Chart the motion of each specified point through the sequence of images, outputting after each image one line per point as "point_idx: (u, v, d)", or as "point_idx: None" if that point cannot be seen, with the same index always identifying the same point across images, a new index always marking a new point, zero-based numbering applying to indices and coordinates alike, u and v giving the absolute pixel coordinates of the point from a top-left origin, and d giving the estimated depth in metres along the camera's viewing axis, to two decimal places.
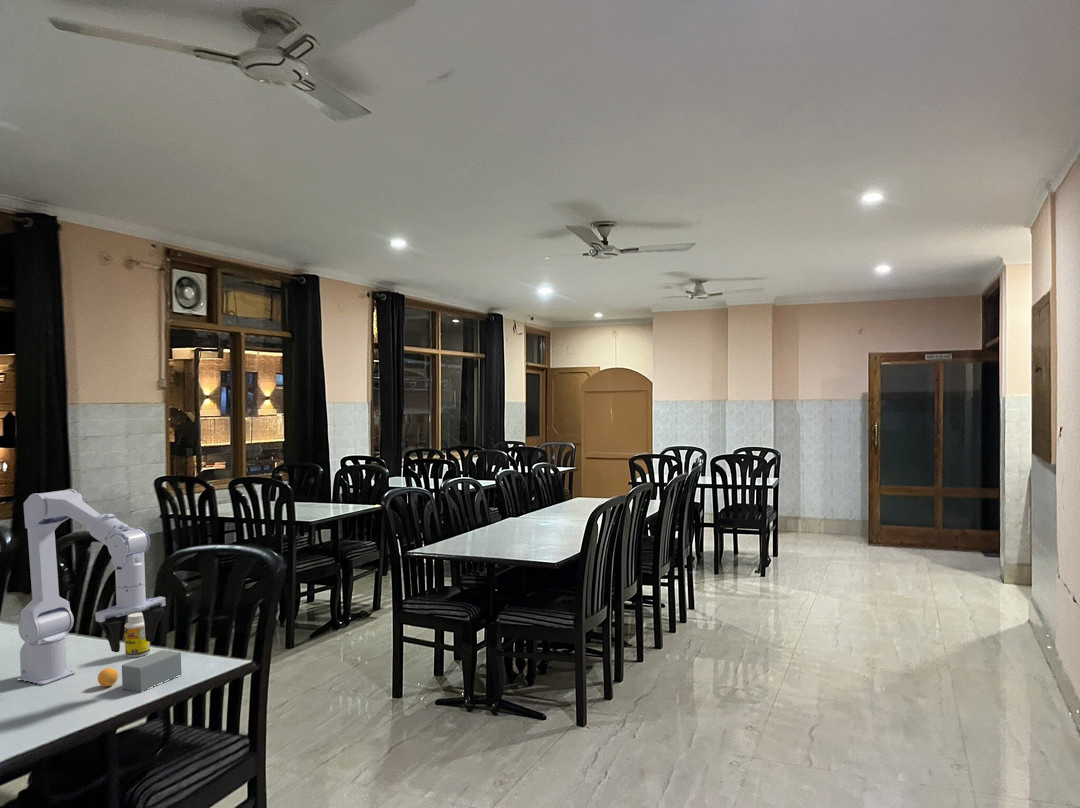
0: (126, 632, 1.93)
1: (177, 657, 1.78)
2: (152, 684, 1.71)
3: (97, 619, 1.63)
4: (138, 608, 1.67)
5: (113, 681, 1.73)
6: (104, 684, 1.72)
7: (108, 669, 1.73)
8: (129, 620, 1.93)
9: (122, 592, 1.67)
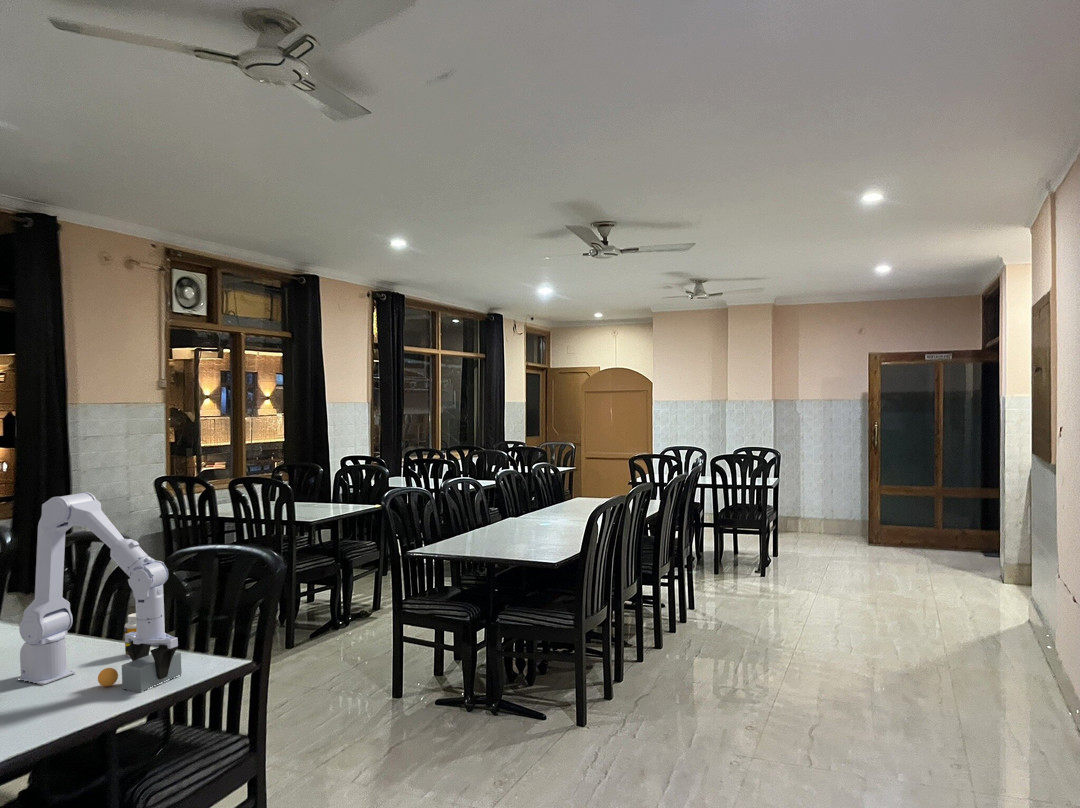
0: (126, 632, 1.93)
1: (177, 657, 1.78)
2: (152, 684, 1.71)
3: None
4: (133, 641, 1.71)
5: (113, 681, 1.73)
6: (104, 684, 1.72)
7: (108, 669, 1.73)
8: (129, 620, 1.93)
9: None
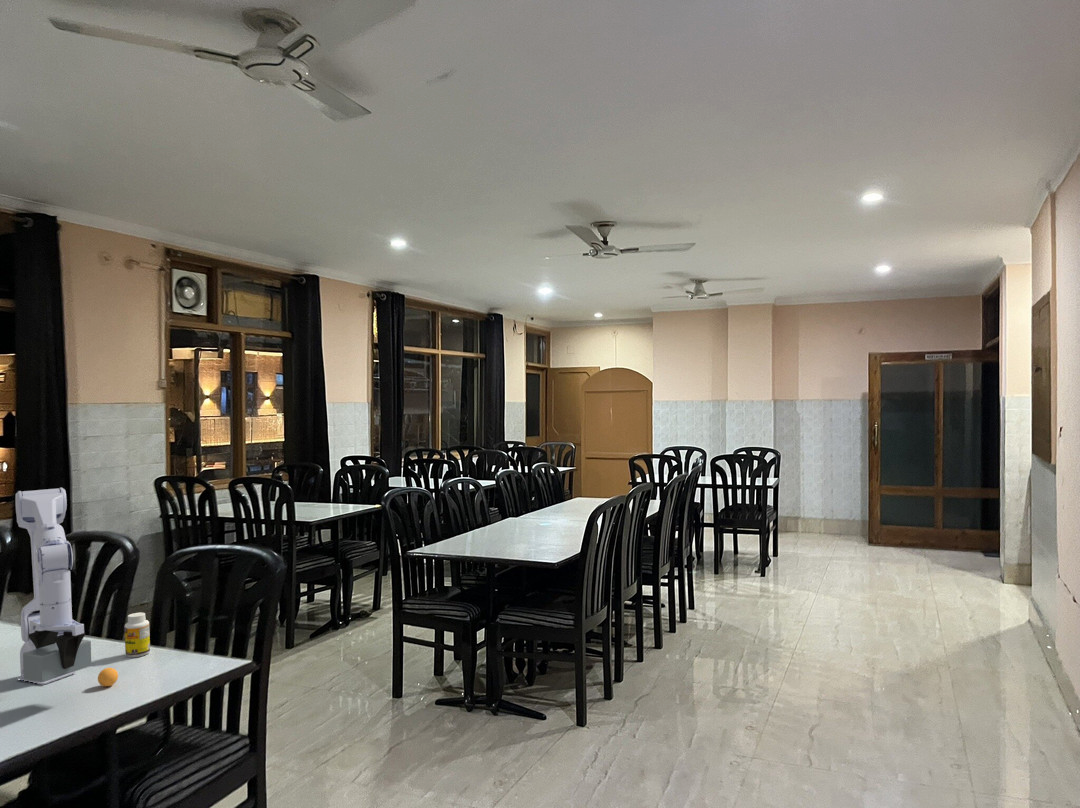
0: (126, 632, 1.93)
1: (86, 645, 1.66)
2: (56, 674, 1.60)
3: None
4: (35, 628, 1.60)
5: (113, 681, 1.73)
6: (104, 684, 1.72)
7: (108, 669, 1.73)
8: (129, 620, 1.93)
9: None
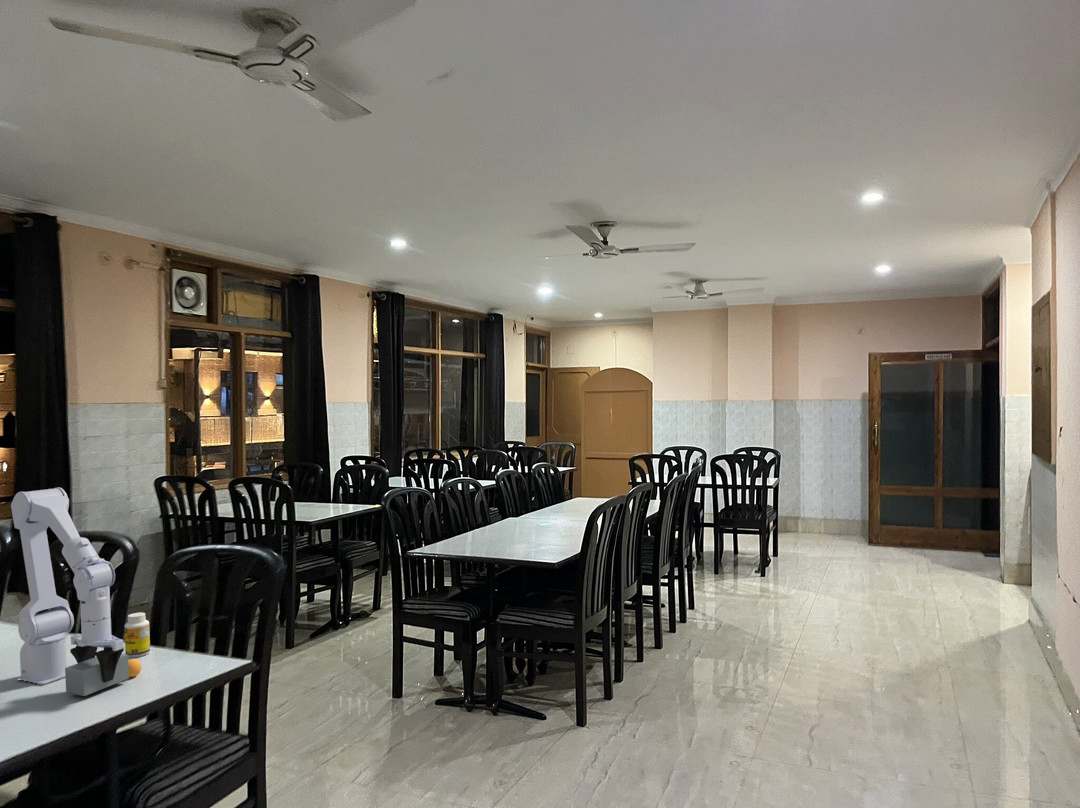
0: (126, 632, 1.93)
1: (124, 659, 1.74)
2: (96, 687, 1.68)
3: None
4: (77, 644, 1.68)
5: (136, 665, 1.78)
6: (138, 661, 1.80)
7: None
8: (129, 620, 1.93)
9: None
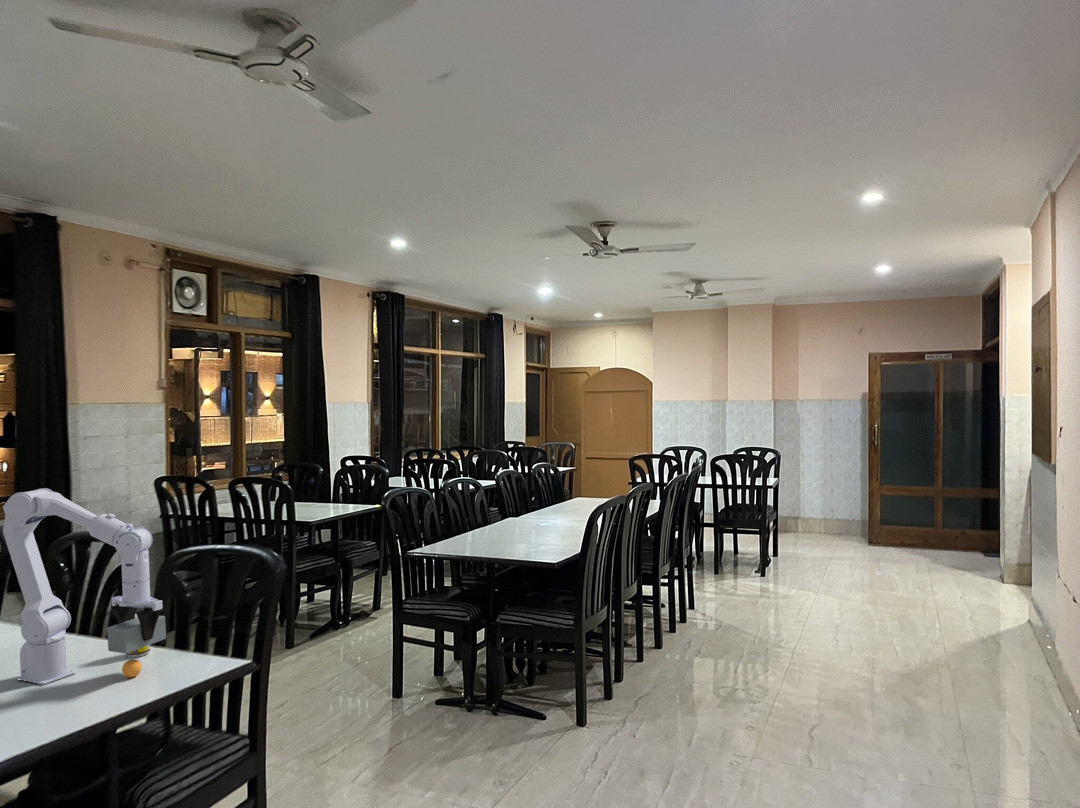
0: None
1: (161, 620, 1.83)
2: (137, 646, 1.77)
3: None
4: (119, 604, 1.77)
5: (136, 665, 1.78)
6: (138, 661, 1.80)
7: None
8: None
9: None
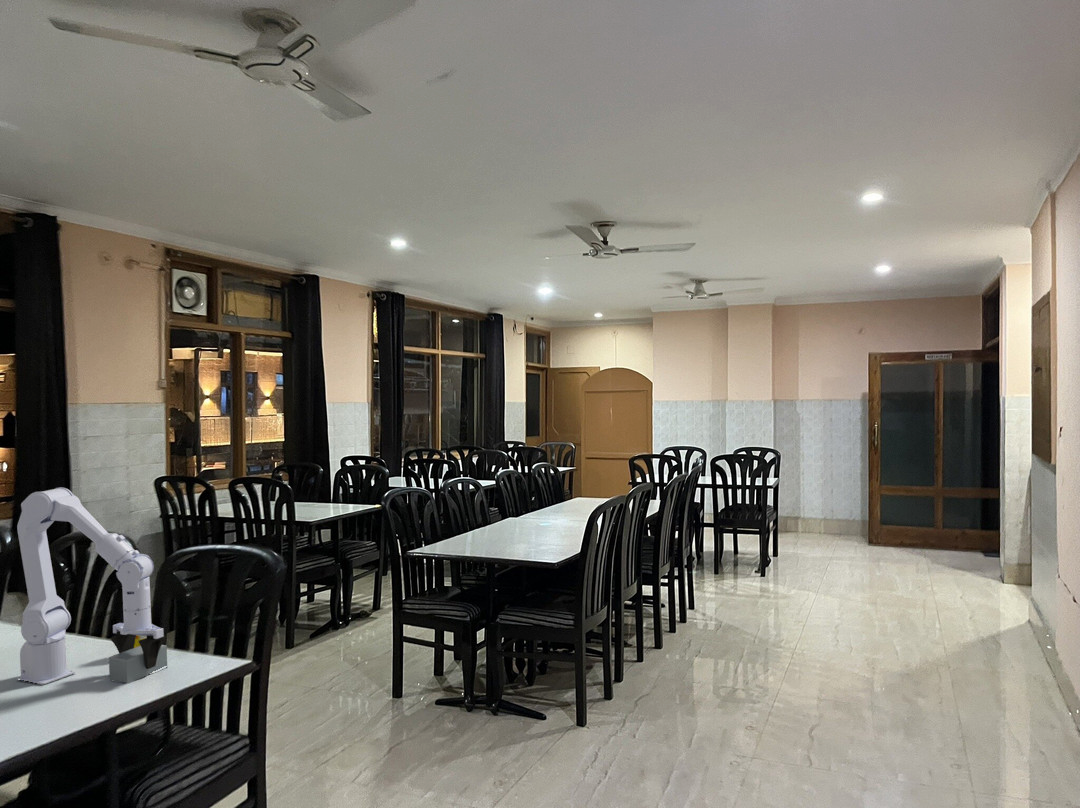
0: None
1: (163, 650, 1.83)
2: (138, 675, 1.77)
3: None
4: (120, 632, 1.77)
5: None
6: None
7: None
8: None
9: None
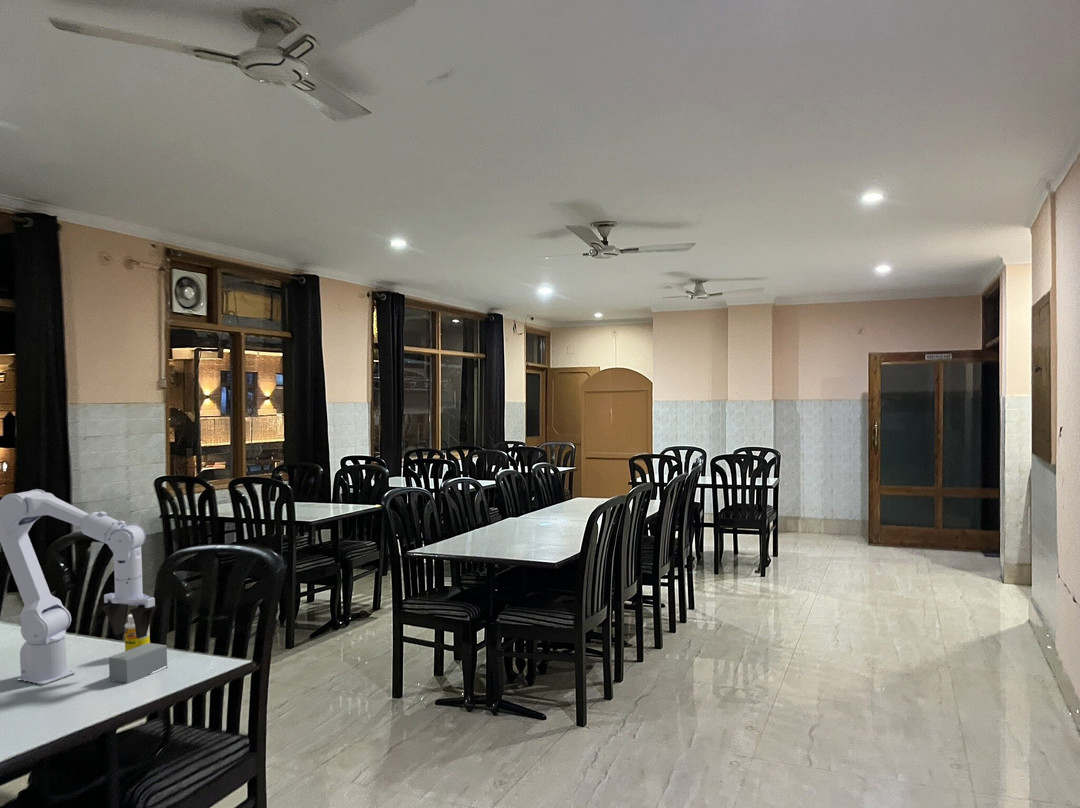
0: (126, 632, 1.93)
1: (163, 650, 1.83)
2: (138, 675, 1.77)
3: None
4: (111, 601, 1.77)
5: None
6: None
7: None
8: (129, 620, 1.93)
9: None
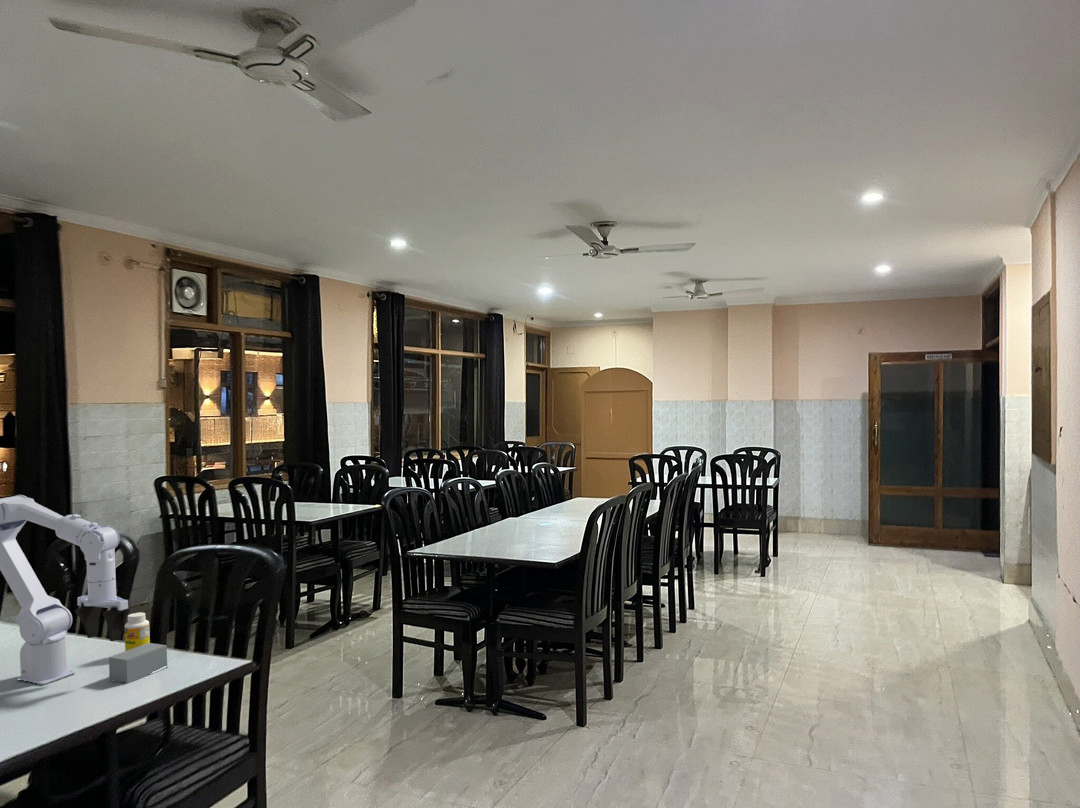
0: (126, 632, 1.93)
1: (163, 650, 1.83)
2: (138, 675, 1.77)
3: None
4: (84, 603, 1.75)
5: None
6: None
7: None
8: (129, 620, 1.93)
9: None
